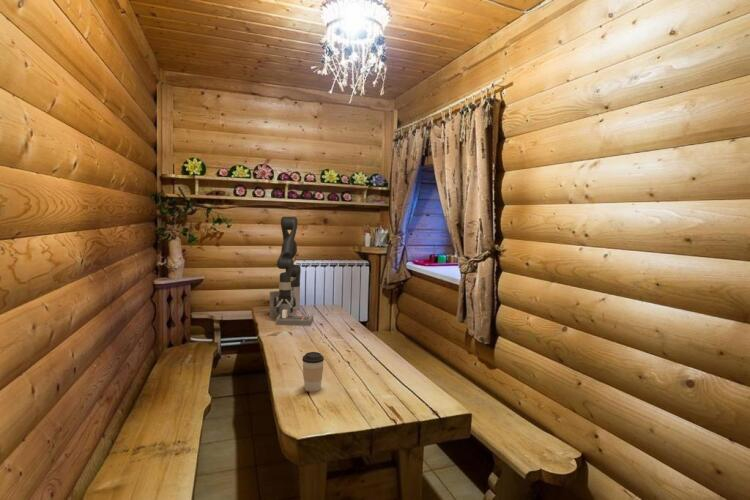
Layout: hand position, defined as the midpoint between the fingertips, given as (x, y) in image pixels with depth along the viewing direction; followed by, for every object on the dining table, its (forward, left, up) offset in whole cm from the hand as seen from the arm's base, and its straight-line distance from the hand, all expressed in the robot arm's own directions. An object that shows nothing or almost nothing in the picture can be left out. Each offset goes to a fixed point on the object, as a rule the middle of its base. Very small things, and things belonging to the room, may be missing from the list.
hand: (284, 312), depth 274 cm
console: (0, +7, -7) cm, 10 cm away
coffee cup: (+100, +34, -7) cm, 106 cm away
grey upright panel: (-16, -6, -7) cm, 19 cm away
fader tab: (0, 0, -3) cm, 3 cm away
